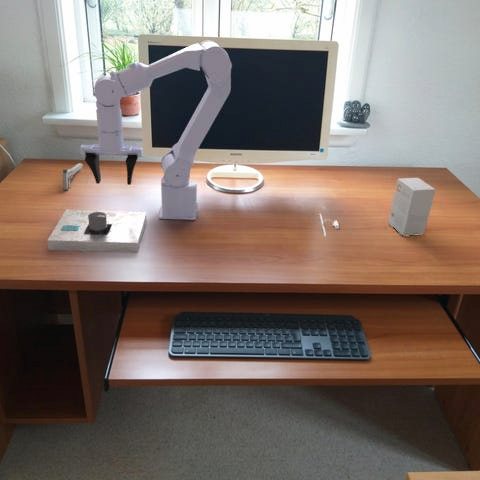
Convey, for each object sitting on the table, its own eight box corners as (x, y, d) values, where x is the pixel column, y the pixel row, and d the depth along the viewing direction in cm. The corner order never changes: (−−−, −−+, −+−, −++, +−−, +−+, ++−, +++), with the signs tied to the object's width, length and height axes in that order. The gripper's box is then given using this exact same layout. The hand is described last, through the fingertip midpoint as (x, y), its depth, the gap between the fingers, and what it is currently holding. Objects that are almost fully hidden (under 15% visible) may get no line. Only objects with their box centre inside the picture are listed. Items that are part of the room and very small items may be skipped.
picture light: (318, 214, 139) (319, 207, 138) (333, 215, 139) (335, 208, 138) (323, 238, 127) (325, 231, 126) (341, 240, 127) (342, 232, 126)
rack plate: (146, 220, 129) (146, 211, 128) (137, 252, 115) (137, 242, 114) (67, 218, 128) (66, 209, 126) (48, 249, 114) (47, 239, 112)
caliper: (68, 191, 142) (65, 171, 139) (64, 191, 142) (61, 171, 139) (83, 166, 160) (81, 147, 157) (79, 166, 160) (77, 147, 157)
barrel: (107, 233, 122) (105, 211, 119) (108, 241, 118) (106, 218, 116) (90, 234, 121) (88, 212, 118) (90, 242, 117) (88, 219, 115)
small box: (424, 235, 130) (436, 189, 124) (402, 237, 129) (414, 190, 122) (407, 221, 137) (418, 177, 131) (387, 223, 136) (397, 178, 129)
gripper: (143, 125, 123) (145, 177, 129) (83, 123, 122) (88, 175, 129) (139, 134, 117) (141, 188, 123) (76, 131, 116) (81, 186, 122)
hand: (114, 182), depth 126 cm, fingers open, 7 cm apart
